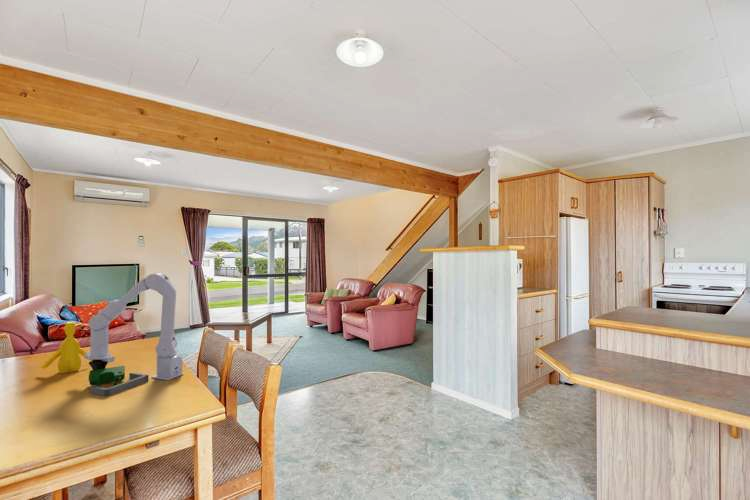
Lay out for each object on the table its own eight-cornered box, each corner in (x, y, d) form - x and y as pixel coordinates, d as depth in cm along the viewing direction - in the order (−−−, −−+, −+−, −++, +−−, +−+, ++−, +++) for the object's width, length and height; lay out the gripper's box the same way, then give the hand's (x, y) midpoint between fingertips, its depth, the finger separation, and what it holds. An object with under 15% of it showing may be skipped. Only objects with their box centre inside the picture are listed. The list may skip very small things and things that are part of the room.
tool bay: (148, 381, 143) (148, 374, 143) (106, 396, 127) (106, 389, 127) (132, 378, 146) (132, 372, 146) (89, 393, 130) (89, 386, 130)
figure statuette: (93, 364, 163) (94, 317, 163) (96, 368, 157) (96, 320, 157) (40, 374, 150) (41, 323, 150) (41, 379, 145) (42, 325, 145)
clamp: (95, 398, 136) (82, 382, 131) (96, 389, 140) (84, 372, 136) (129, 382, 141) (118, 365, 137) (130, 373, 145) (119, 357, 141)
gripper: (76, 344, 139) (75, 379, 139) (101, 348, 134) (100, 383, 134) (95, 340, 146) (94, 373, 146) (119, 344, 141) (119, 377, 141)
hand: (98, 378), depth 140 cm, fingers closed, pressing on clamp
